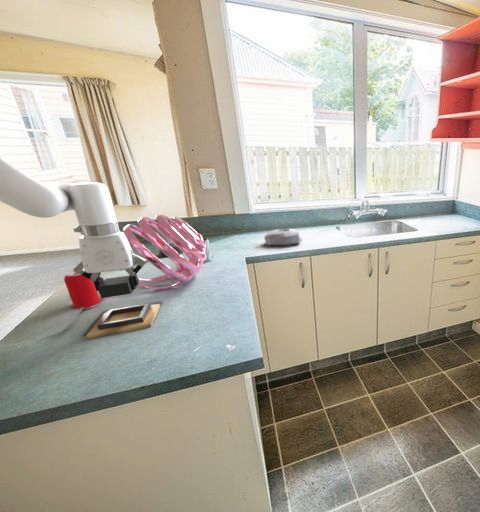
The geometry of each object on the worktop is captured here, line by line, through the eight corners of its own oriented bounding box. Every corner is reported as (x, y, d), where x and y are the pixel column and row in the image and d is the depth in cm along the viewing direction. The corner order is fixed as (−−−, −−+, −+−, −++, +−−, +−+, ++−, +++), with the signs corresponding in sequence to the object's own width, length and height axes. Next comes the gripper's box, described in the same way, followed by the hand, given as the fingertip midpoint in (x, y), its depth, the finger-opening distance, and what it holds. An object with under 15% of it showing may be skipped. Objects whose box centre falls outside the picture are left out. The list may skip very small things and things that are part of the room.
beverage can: (98, 300, 101) (87, 267, 97) (103, 305, 97) (92, 271, 94) (72, 307, 96) (60, 273, 92) (77, 313, 93) (64, 277, 89)
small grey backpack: (300, 238, 182) (265, 241, 176) (299, 225, 179) (264, 227, 173) (301, 245, 168) (263, 247, 162) (300, 231, 165) (261, 233, 160)
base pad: (87, 338, 79) (84, 330, 79) (105, 315, 91) (103, 308, 91) (151, 326, 86) (149, 319, 85) (160, 306, 97) (158, 299, 97)
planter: (210, 261, 140) (206, 240, 136) (199, 262, 138) (195, 241, 135) (212, 258, 144) (209, 238, 141) (202, 259, 142) (198, 239, 139)
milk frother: (168, 258, 144) (162, 228, 140) (146, 254, 149) (139, 225, 144) (195, 250, 157) (189, 222, 153) (173, 247, 162) (167, 220, 157)
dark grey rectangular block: (101, 298, 81) (97, 286, 80) (109, 289, 87) (105, 278, 86) (130, 293, 84) (127, 282, 83) (136, 285, 90) (133, 274, 89)
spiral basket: (73, 249, 90) (154, 195, 98) (112, 247, 116) (173, 204, 123) (150, 311, 99) (218, 257, 107) (170, 297, 125) (224, 254, 132)
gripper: (49, 236, 73) (73, 301, 78) (137, 229, 80) (153, 289, 86) (63, 230, 79) (84, 290, 85) (143, 224, 87) (158, 280, 92)
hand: (119, 289), depth 85 cm, fingers closed on dark grey rectangular block, 6 cm apart
